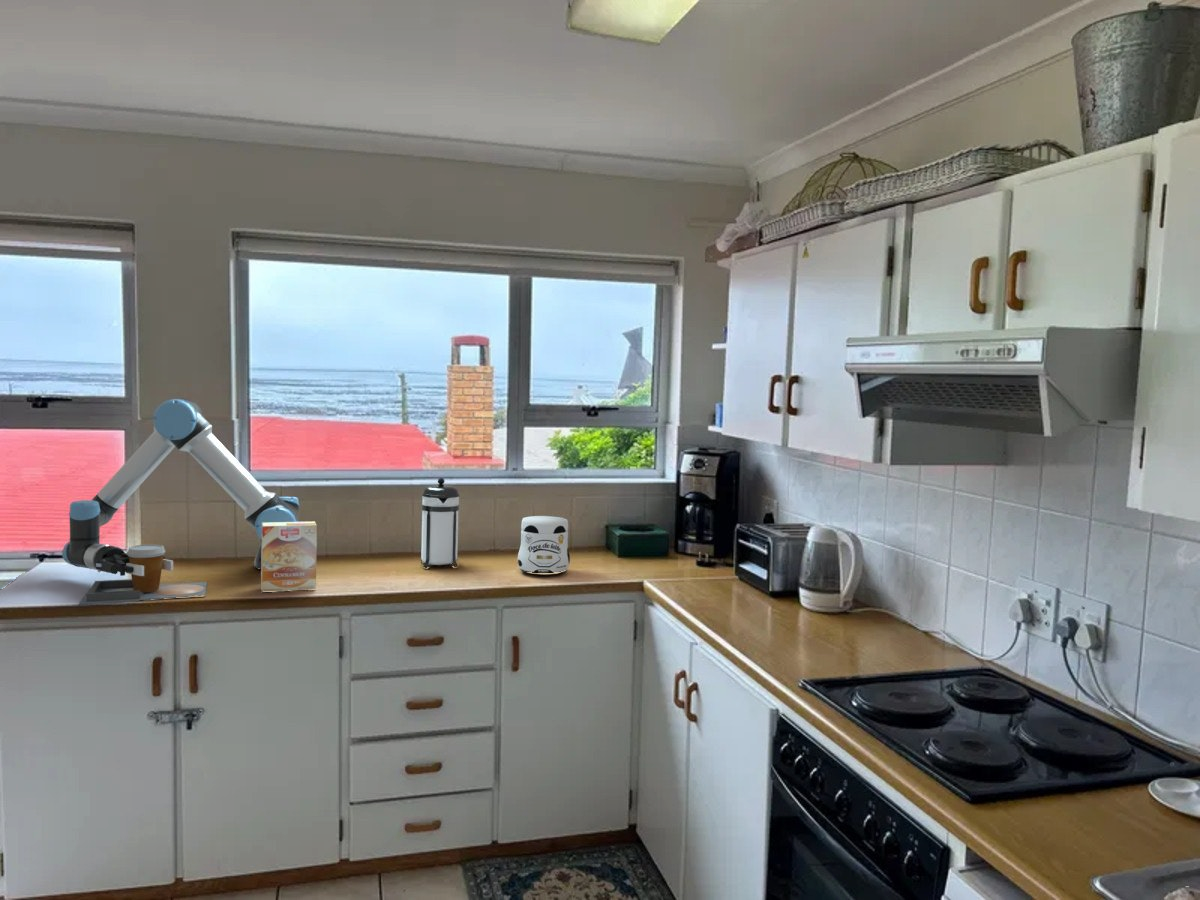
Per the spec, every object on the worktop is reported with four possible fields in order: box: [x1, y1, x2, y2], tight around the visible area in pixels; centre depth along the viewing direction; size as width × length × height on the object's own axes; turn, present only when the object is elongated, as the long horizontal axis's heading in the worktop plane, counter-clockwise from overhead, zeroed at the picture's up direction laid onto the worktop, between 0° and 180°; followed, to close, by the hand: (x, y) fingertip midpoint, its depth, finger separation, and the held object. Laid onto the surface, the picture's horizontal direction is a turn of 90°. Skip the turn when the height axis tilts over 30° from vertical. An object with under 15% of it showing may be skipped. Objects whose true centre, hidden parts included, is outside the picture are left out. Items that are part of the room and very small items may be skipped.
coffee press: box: [420, 477, 461, 568], centre depth 288 cm, size 17×16×30 cm
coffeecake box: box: [260, 521, 318, 592], centre depth 248 cm, size 15×7×20 cm, turn 114°
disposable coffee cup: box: [126, 544, 166, 592], centre depth 237 cm, size 10×10×12 cm
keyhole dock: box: [79, 578, 208, 606], centre depth 237 cm, size 30×17×3 cm, turn 113°
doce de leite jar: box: [517, 515, 571, 573], centre depth 282 cm, size 17×17×18 cm
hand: (157, 568), depth 235 cm, fingers closed on disposable coffee cup, 8 cm apart
